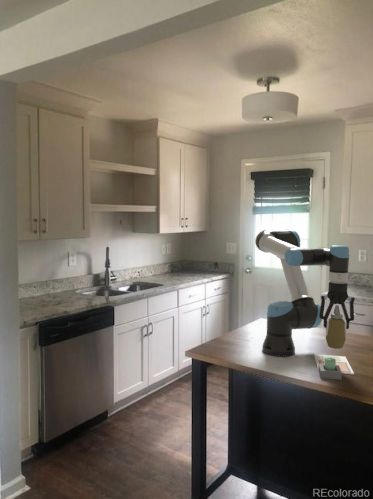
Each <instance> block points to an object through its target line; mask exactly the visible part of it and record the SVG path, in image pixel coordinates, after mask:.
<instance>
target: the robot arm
mask: <svg viewBox="0 0 373 499" xmlns="http://www.w3.org/2000/svg"><path fill="white" fill-rule="evenodd" d="M255 246H256V248H257V249H258V250H260V252H263V253H265V254H266V253H267V254H268V253H269V254H271V255H274V256H275V257H277V259H280V264H281V266H282V270H283V273H284V277H285V280H286V284H287V288H288V292H289V295H290V299H291V301H288V300H287V301H286V300H284V301H283V300H281V301H280V300H279V301H274V302H271V303H269V305H268V306H267V312H266V317H267V318H266V335H265V337H264V340H263V344H262V347H261V348H262V353H265V354H267V355H270V356H275V357H290V356H293V355H295V353H296V347H295V344H294V340H293V333H292V332H293V330H302V329H303V330H304V329H314V328H315V329H316V328H318V327H319V326H320V325H321V323H322V320H323V328H325V337H326V336H327V334H328V327H329V320H328V319H329V318H330V317H329V316H330V315H331V313H332V312H331V311H332V310H333V307H334V305H341V309H342V312H343V315H344V319H345V320H344V319H343V320H344V321H345V337H347V330H349V329H350V322H351V321H354V320H355V306H354V302H355V299H356V298H355V297H354V296H350V295H349V294H348V285H349V284H348V283H347V282H349V281H348V280H349V265H350V263H349V262H350V247H349V246H348V245H341V244H339V245H338V244H334V245H330V248H327V247H316V248H314V247H312V248H305V247H304V248H302V247H301V238H300V235H299V233H298V232H297V231H296V230H294V229H288V228H285V229H274V228H273V229H269V228H268V229H264V230H262V231H260V232H258V234H257V235H256V237H255ZM302 266H303V267H304V266H307V267H309V266H325V267H326V266H328V267H329V272H328V281H329V282H328V289H327V290H328V291H327V293H326V294H321V295H320V300H321V302H320V304H319V303H317V302H315V300H314V297H313V296H310V294H309V292H308V291H309V290H308V287H307V284H306V281H305V277H304V274H303V271H302V269H301V267H302ZM327 299H329V303H328V306H327V309H326V311H325V306H326V305H325V304H326V300H327ZM347 300H348V302H349V304H348V305H349V314H348V311H347V307H346V304H345V302H346V301H347ZM324 312H325V313H324Z"/></svg>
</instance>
